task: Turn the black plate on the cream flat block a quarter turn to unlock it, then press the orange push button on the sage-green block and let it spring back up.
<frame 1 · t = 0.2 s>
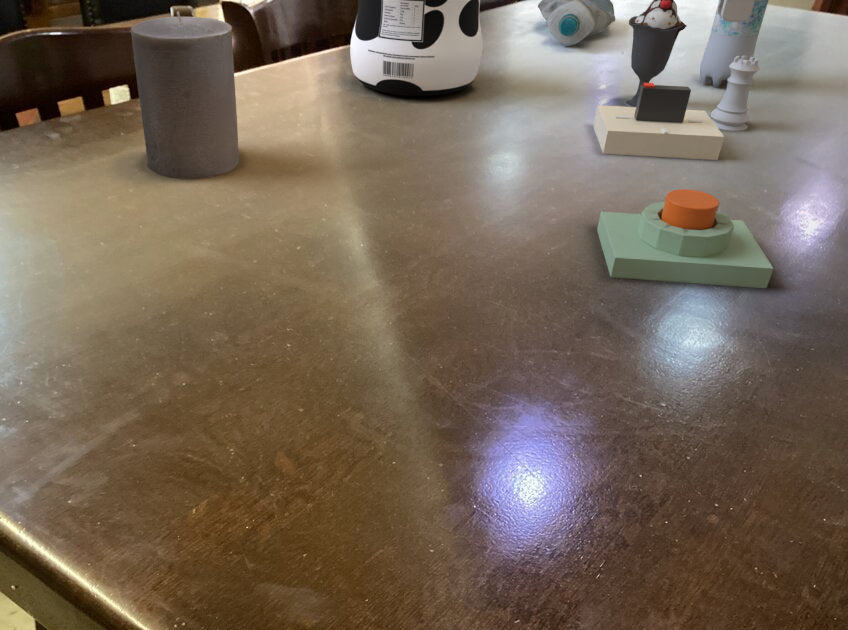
hand: (715, 5, 58), 20 cm above the table, tool pointing down, fingers open, 8 cm apart
milk container: (413, 88, 110), on the table
detergent: (570, 36, 136), on the table
pillar candle: (195, 167, 86), on the table
sundae: (638, 108, 104), on the table
rook chess piece: (725, 130, 97), on the table
black plate: (662, 102, 89), point 5 cm above the table, hinge at 0.0°
cream flat block: (651, 146, 92), on the table
button block: (675, 261, 69), on the table
bottle: (720, 85, 113), on the table
button: (689, 210, 66), point 5 cm above the table, slide at 0.1 cm
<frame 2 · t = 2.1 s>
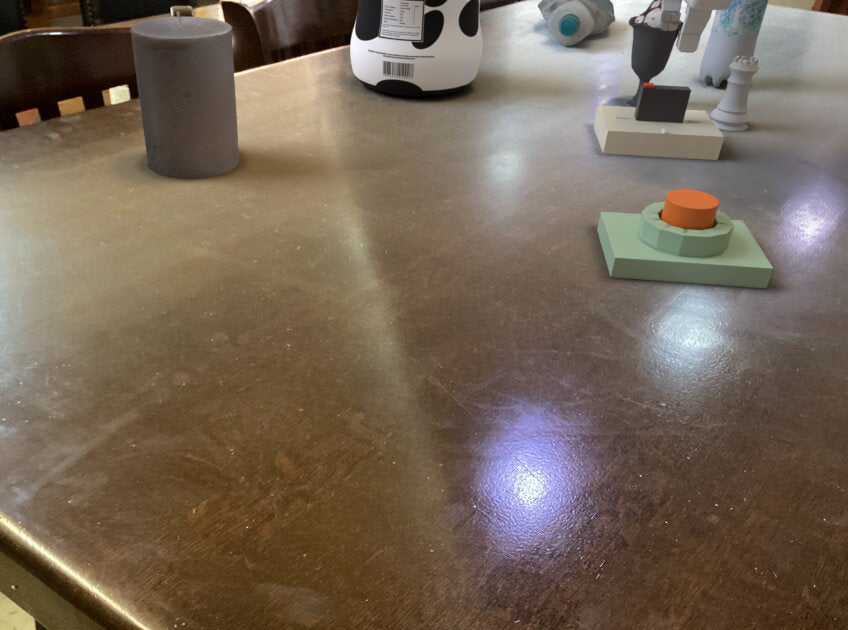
hand: (675, 39, 85), 11 cm above the table, tool pointing down, fingers open, 8 cm apart
nothing on the table moved.
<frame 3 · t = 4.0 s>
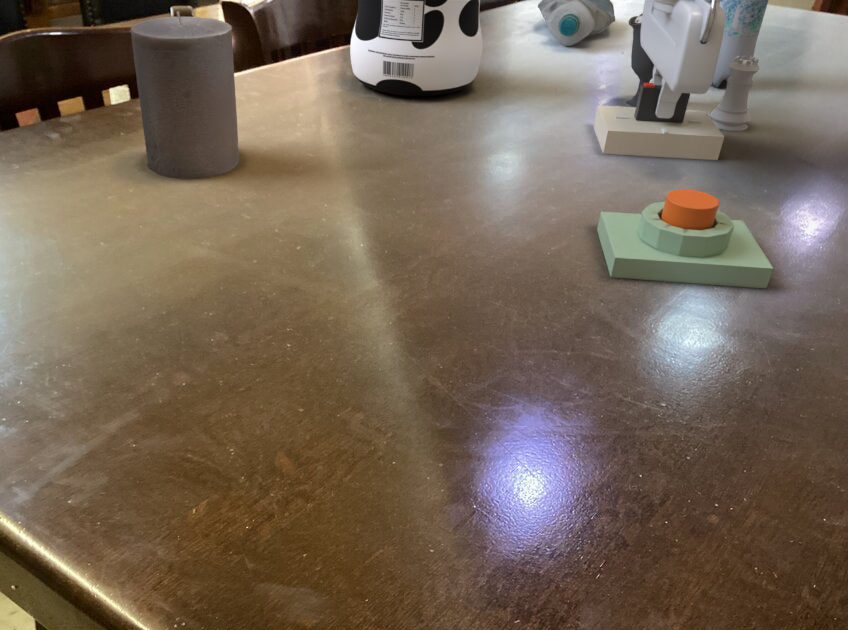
hand: (660, 112, 89), 4 cm above the table, tool pointing down, fingers closed on black plate
black plate: (662, 102, 89), point 5 cm above the table, hinge at 0.0°, touching gripper
everything else where it was.
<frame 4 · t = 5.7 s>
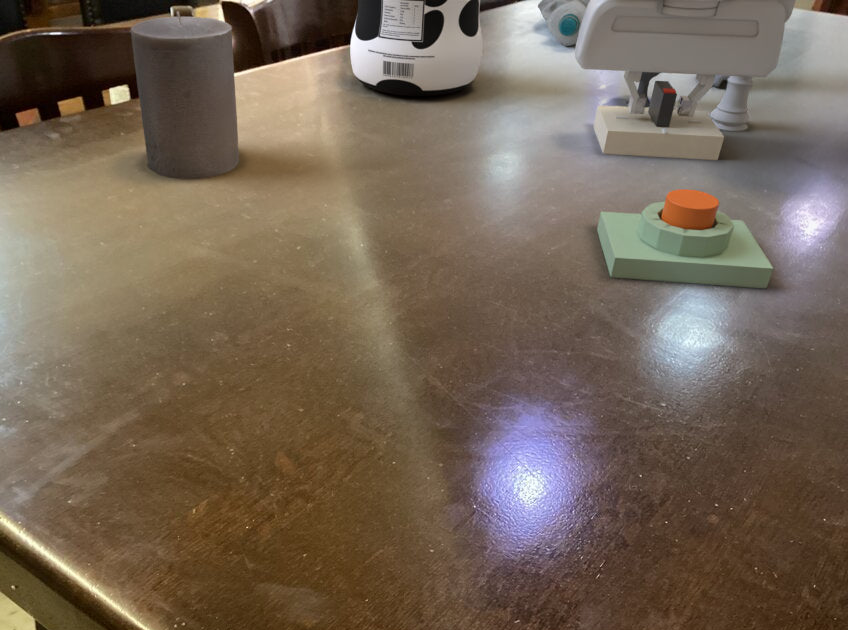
hand: (659, 113, 89), 4 cm above the table, tool pointing down, fingers open, 4 cm apart
black plate: (662, 102, 89), point 5 cm above the table, hinge at 90.0°
everything else where it was.
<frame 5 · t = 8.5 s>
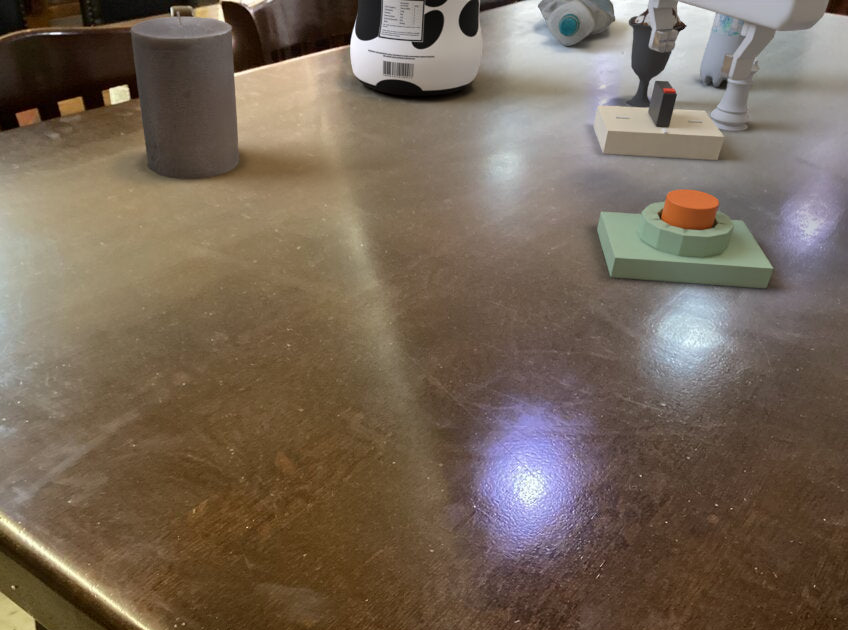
hand: (695, 63, 71), 13 cm above the table, tool pointing down, fingers open, 8 cm apart
nothing on the table moved.
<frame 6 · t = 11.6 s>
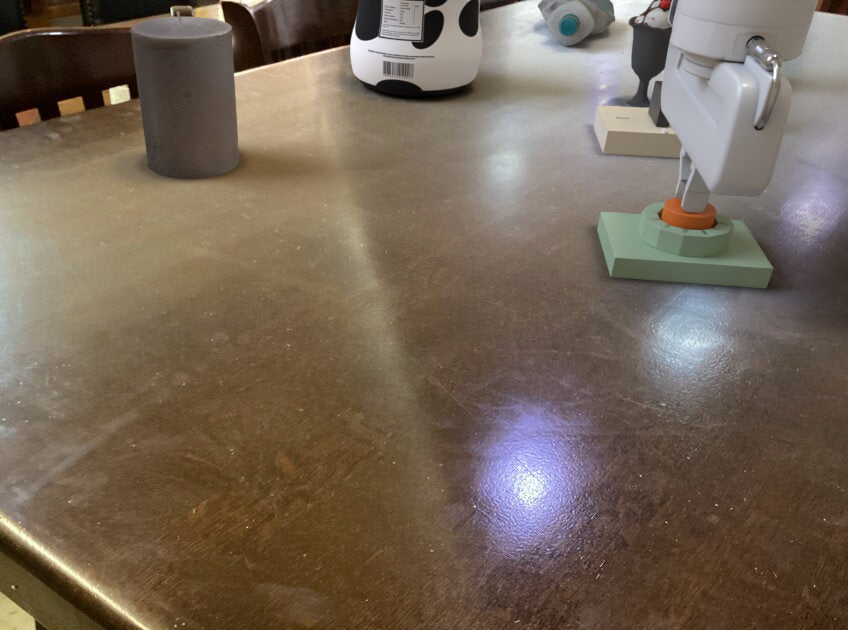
hand: (688, 205, 66), 5 cm above the table, tool pointing down, fingers closed, pressing on button
button: (687, 218, 66), point 4 cm above the table, slide at -0.6 cm, touching gripper
everything else where it was.
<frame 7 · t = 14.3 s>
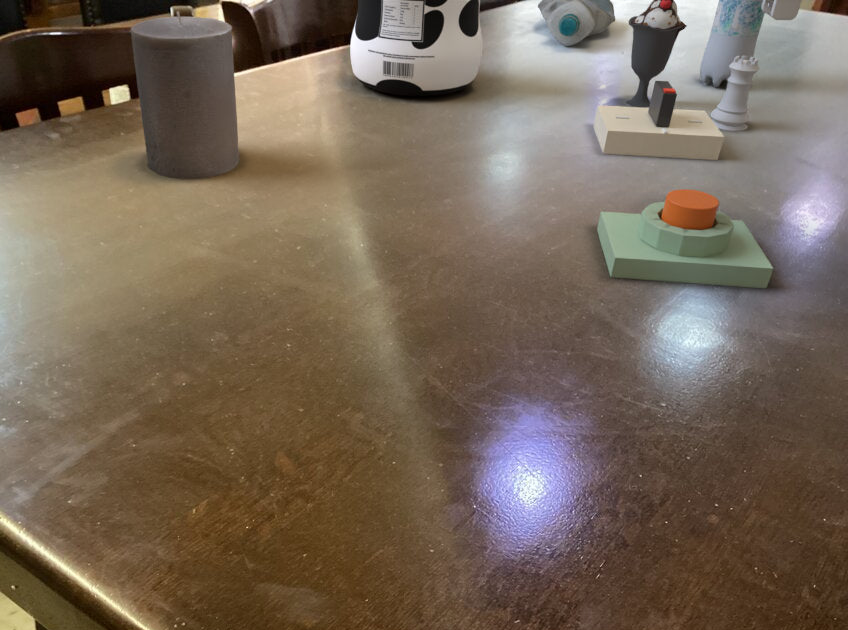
hand: (777, 16, 63), 18 cm above the table, tool pointing down, fingers closed
button: (689, 210, 66), point 5 cm above the table, slide at 0.1 cm
everything else where it was.
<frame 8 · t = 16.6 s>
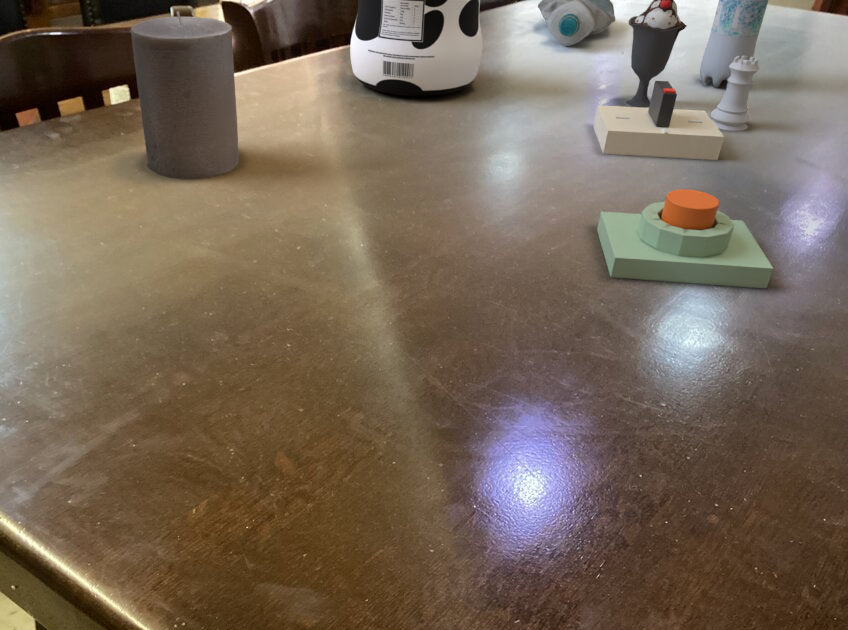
nothing on the table moved.
at the end: black plate at +90° (first picture: +0°); button pushed in 1.0 cm at the most during the clip, back to where it started at the end; button slide at 0.1 cm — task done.
